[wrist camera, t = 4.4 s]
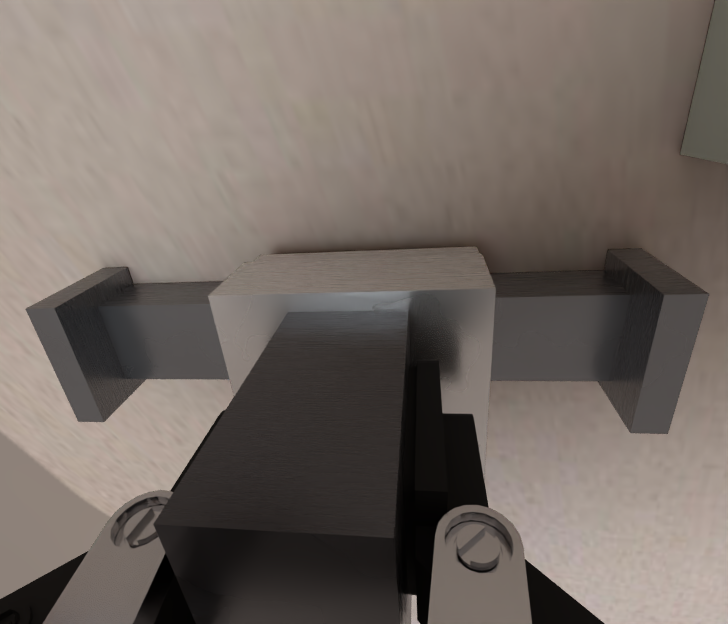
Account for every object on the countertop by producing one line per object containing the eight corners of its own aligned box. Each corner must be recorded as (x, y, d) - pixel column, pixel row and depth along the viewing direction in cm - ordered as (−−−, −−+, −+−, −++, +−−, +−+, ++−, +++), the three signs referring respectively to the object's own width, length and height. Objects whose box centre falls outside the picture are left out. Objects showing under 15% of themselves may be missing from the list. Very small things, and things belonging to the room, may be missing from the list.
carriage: (476, 240, 13) (585, 517, 4) (470, 398, 16) (532, 769, 7) (259, 249, 14) (-5, 488, 5) (287, 396, 17) (141, 719, 8)
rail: (641, 248, 14) (709, 293, 10) (617, 364, 16) (667, 433, 12) (103, 268, 16) (25, 308, 13) (138, 365, 18) (78, 421, 15)
